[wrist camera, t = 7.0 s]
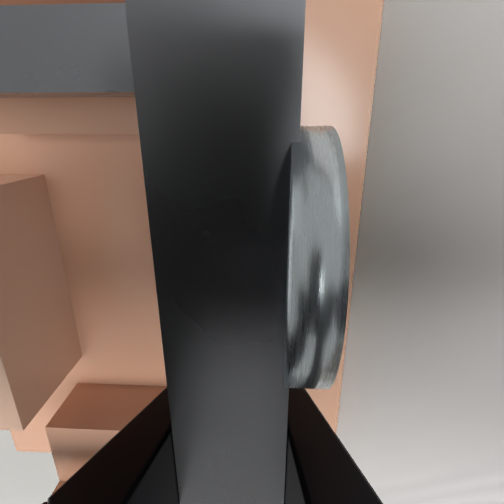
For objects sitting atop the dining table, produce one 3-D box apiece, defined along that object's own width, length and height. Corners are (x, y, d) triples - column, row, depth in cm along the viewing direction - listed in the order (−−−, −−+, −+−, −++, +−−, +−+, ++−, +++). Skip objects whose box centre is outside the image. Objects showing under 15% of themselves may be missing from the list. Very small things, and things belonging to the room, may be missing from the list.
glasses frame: (320, 24, 6) (392, -121, 3) (290, 547, 12) (299, 761, 8) (-214, 33, 7) (-831, -73, 3) (-12, 528, 12) (-144, 720, 8)
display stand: (373, -16, 12) (454, -123, 6) (327, 439, 19) (349, 560, 14) (-91, -7, 12) (-349, -95, 7) (35, 427, 19) (-50, 537, 14)
